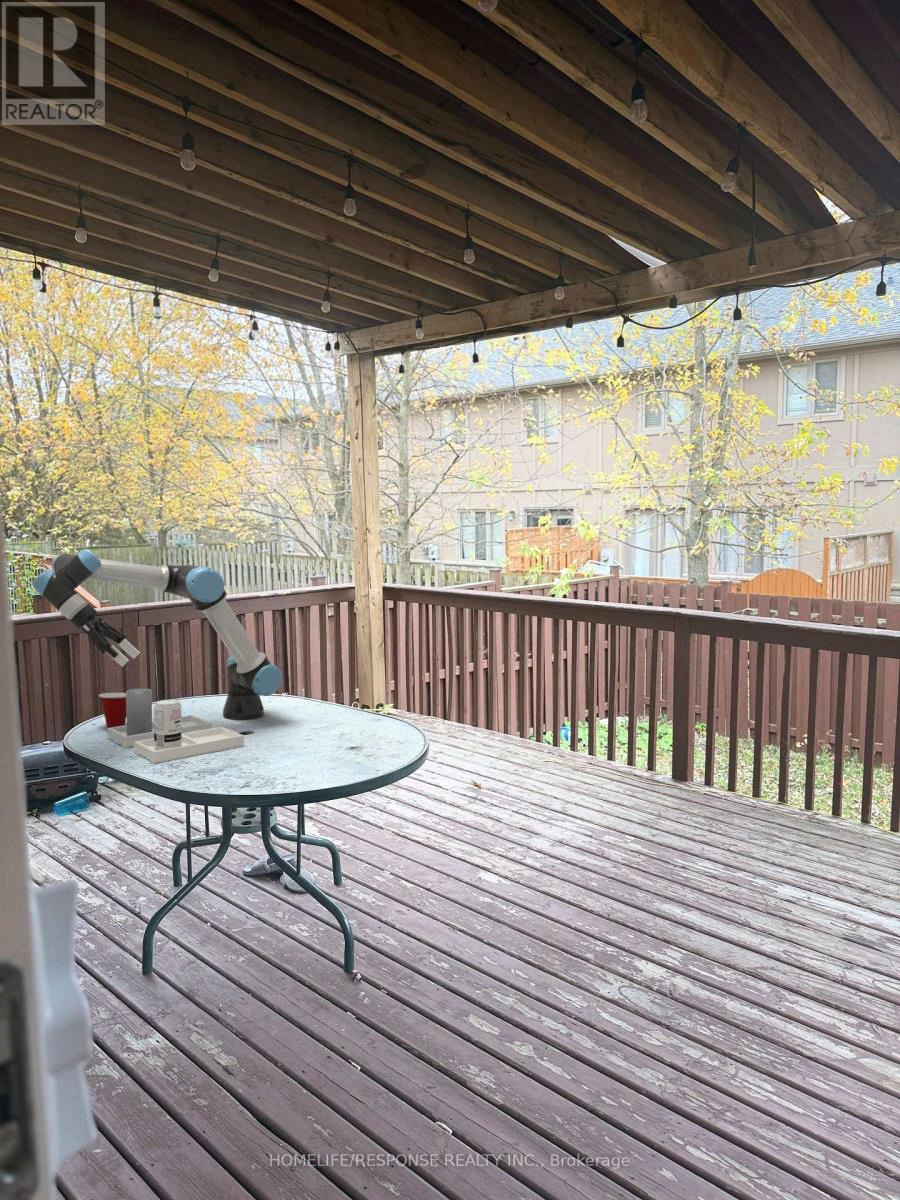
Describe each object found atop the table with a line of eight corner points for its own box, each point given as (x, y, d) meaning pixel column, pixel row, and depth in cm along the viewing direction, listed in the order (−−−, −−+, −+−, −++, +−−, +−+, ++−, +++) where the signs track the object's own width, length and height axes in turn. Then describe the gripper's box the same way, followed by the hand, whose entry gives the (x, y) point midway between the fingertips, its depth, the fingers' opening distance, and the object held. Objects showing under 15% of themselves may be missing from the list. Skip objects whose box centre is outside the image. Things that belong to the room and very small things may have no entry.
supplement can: (158, 745, 256) (157, 699, 254) (184, 744, 257) (184, 699, 255) (151, 752, 248) (150, 704, 246) (178, 752, 248) (177, 704, 247)
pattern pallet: (192, 724, 289) (191, 679, 287) (211, 732, 278) (211, 685, 276) (107, 738, 268) (106, 690, 267) (125, 747, 257) (124, 697, 256)
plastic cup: (138, 723, 288) (137, 691, 287) (123, 731, 277) (122, 697, 276) (109, 722, 289) (108, 689, 288) (93, 729, 278) (92, 696, 277)
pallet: (221, 736, 273) (221, 726, 273) (243, 745, 262) (243, 735, 262) (134, 752, 252) (134, 741, 252) (154, 763, 241) (154, 752, 241)
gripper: (83, 615, 257) (133, 661, 260) (55, 625, 232) (111, 675, 236) (99, 599, 257) (149, 644, 260) (74, 607, 232) (129, 658, 236)
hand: (131, 659), depth 248 cm, fingers open, 13 cm apart
